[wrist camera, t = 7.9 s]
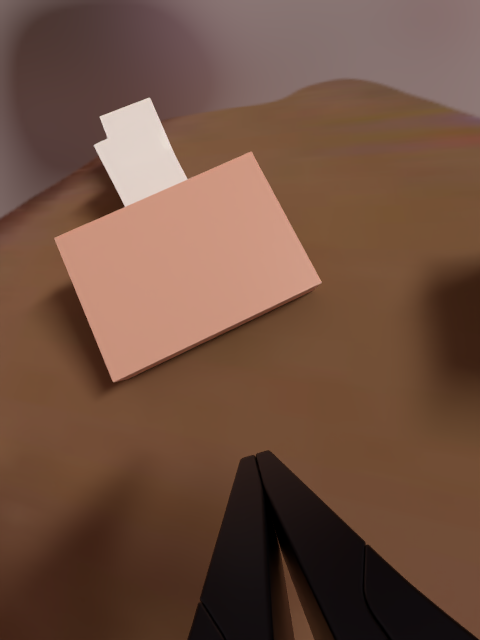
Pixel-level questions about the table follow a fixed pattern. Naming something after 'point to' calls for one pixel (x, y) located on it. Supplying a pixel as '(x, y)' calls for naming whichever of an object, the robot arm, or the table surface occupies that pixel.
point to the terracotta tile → (185, 266)
